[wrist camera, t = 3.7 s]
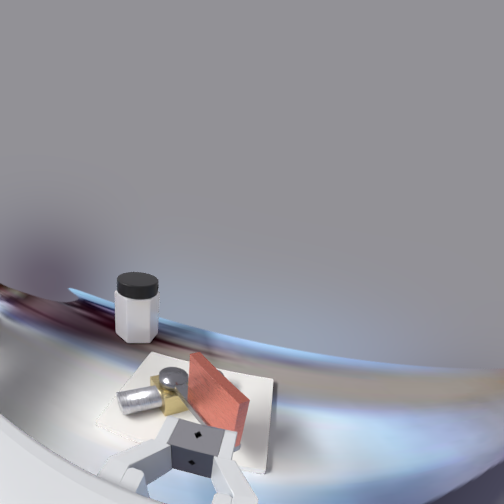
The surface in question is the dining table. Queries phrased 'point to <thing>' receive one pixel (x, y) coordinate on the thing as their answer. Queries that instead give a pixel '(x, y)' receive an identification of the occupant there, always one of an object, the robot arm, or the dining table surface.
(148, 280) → the jar
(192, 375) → the lever
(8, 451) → the robot arm
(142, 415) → the mounting plate
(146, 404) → the valve body
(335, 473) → the dining table surface
